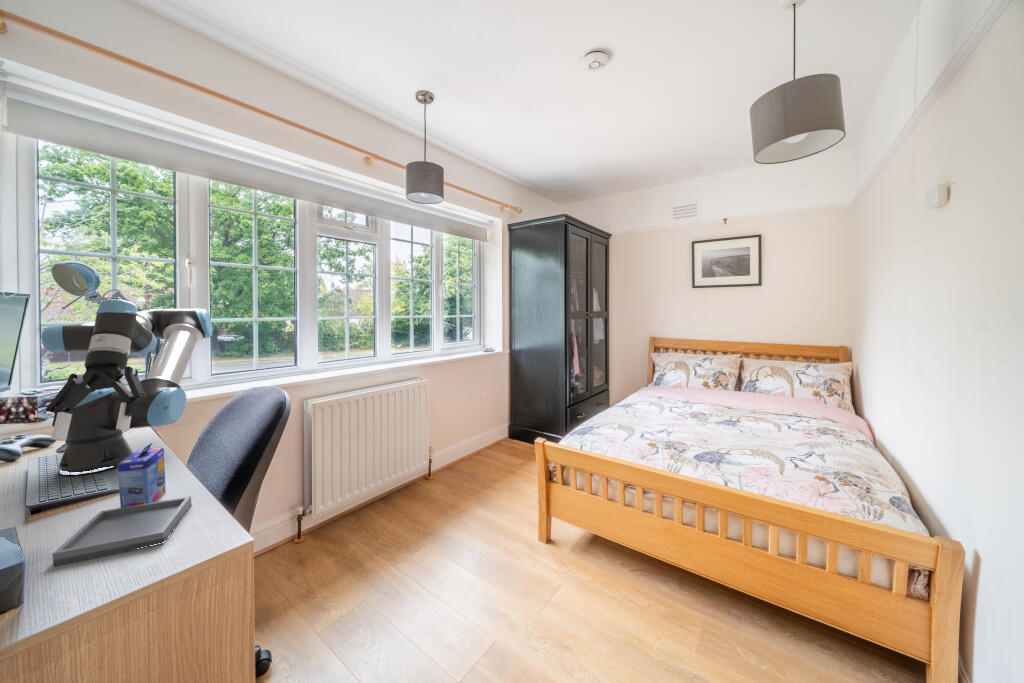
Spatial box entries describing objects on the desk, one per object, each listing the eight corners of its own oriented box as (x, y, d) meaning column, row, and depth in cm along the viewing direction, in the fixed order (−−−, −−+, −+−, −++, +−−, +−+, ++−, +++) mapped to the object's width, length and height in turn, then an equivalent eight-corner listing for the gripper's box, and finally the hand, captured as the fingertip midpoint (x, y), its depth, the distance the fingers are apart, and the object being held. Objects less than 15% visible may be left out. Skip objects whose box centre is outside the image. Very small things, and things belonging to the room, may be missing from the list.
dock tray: (102, 521, 85) (101, 511, 85) (191, 505, 92) (190, 496, 91) (53, 566, 70) (52, 553, 70) (164, 543, 77) (163, 532, 77)
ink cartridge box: (150, 509, 90) (144, 451, 88) (119, 514, 88) (113, 455, 86) (168, 490, 99) (163, 437, 97) (141, 495, 97) (135, 440, 95)
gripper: (38, 356, 94) (13, 441, 86) (150, 342, 98) (135, 422, 90) (68, 366, 101) (47, 446, 93) (171, 352, 105) (160, 428, 97)
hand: (90, 434), depth 92 cm, fingers open, 13 cm apart
